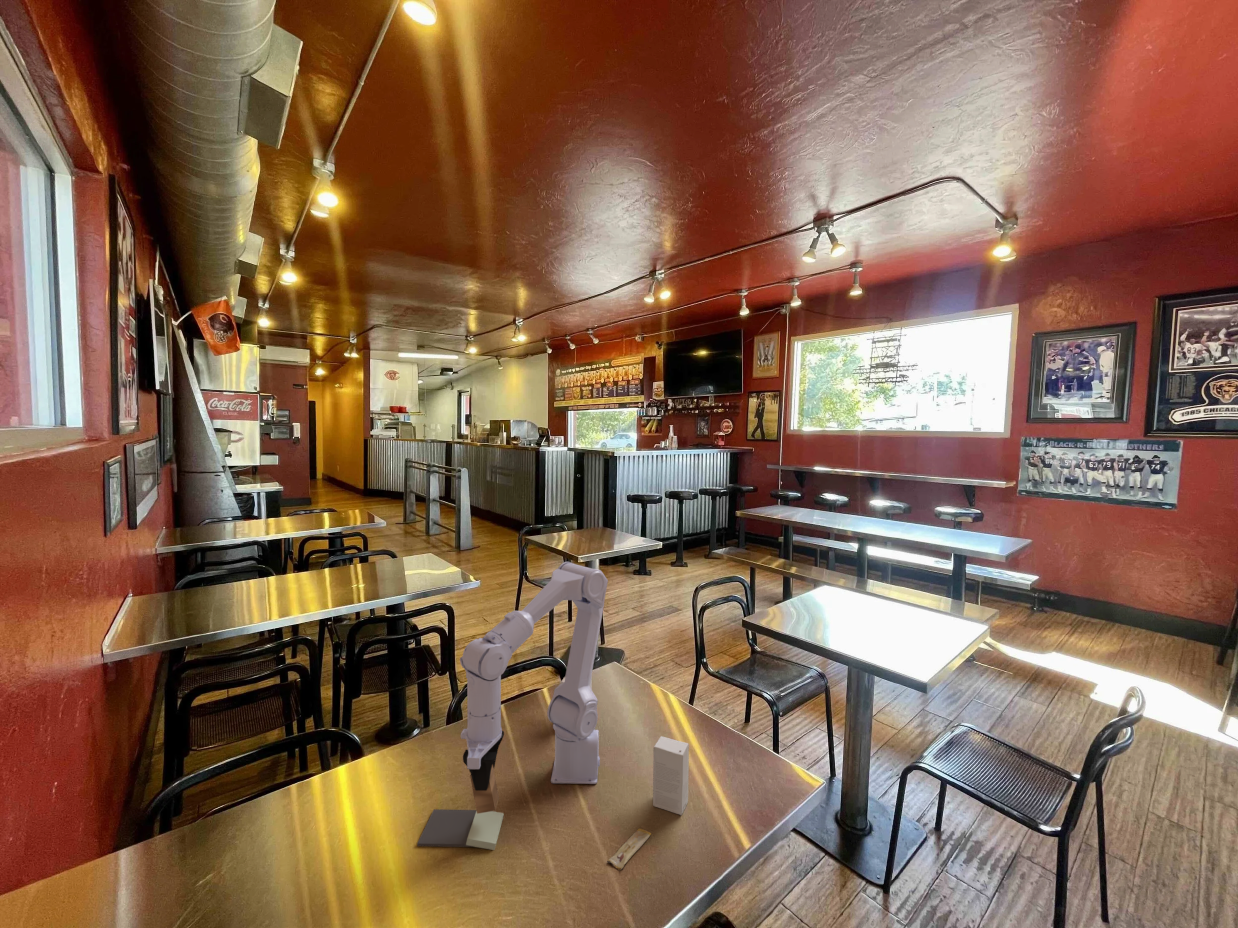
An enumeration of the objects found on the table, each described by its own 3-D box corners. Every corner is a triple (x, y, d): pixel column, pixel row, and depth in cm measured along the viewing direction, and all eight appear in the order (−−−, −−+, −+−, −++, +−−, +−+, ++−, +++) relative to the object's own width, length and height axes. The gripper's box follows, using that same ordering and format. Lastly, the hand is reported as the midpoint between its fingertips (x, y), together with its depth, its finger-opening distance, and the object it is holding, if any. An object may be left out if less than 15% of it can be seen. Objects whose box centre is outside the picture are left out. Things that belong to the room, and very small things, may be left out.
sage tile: (503, 813, 96) (477, 808, 95) (495, 843, 89) (467, 838, 88) (502, 819, 96) (475, 814, 96) (494, 850, 89) (465, 845, 89)
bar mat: (486, 812, 97) (486, 809, 97) (474, 846, 89) (474, 844, 89) (433, 811, 97) (433, 809, 97) (417, 845, 89) (417, 843, 89)
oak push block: (499, 797, 94) (492, 761, 93) (495, 810, 91) (488, 772, 90) (481, 800, 94) (474, 764, 93) (477, 813, 91) (470, 775, 90)
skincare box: (688, 801, 101) (690, 743, 100) (681, 816, 97) (683, 755, 96) (659, 792, 103) (660, 734, 103) (651, 806, 100) (652, 746, 99)
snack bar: (637, 826, 94) (650, 828, 92) (640, 835, 94) (653, 837, 92) (605, 860, 86) (619, 863, 85) (607, 870, 86) (621, 873, 84)
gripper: (472, 687, 98) (472, 755, 99) (448, 731, 84) (448, 811, 85) (509, 687, 98) (509, 755, 99) (491, 732, 84) (491, 811, 85)
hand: (484, 781), depth 92 cm, fingers closed on oak push block, 3 cm apart
